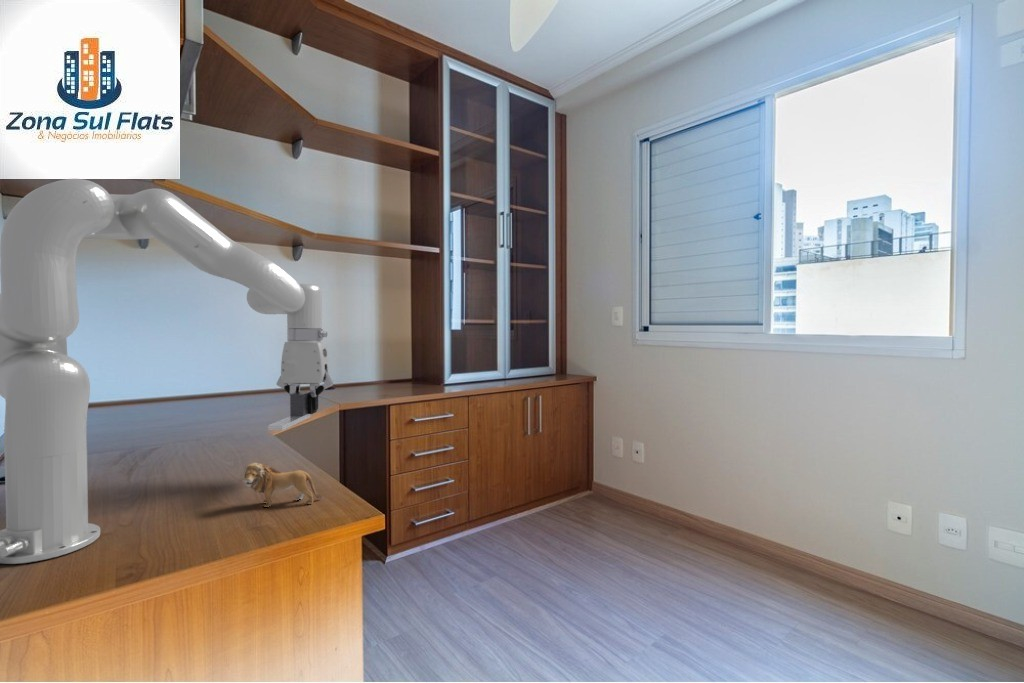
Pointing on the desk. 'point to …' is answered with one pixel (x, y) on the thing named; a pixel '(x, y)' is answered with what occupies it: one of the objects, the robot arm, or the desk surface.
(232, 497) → the desk surface
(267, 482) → the lion figurine
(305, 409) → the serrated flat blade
